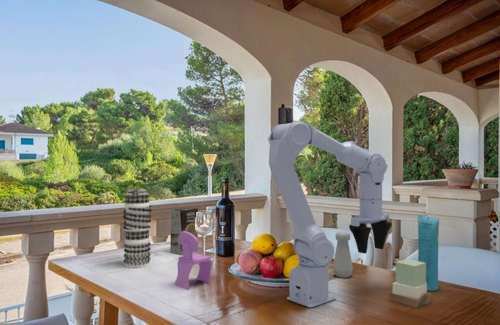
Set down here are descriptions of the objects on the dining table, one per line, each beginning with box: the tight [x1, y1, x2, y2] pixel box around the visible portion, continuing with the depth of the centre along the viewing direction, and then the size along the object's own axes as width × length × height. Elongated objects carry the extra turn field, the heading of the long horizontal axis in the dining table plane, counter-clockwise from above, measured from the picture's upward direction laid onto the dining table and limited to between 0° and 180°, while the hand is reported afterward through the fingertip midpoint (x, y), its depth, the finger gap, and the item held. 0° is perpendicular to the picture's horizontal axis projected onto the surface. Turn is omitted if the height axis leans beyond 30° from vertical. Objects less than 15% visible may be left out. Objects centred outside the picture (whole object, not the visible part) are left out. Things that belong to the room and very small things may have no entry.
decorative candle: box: [122, 188, 153, 268], centre depth 135 cm, size 9×9×25 cm
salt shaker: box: [332, 231, 354, 279], centre depth 121 cm, size 6×6×13 cm
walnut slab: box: [388, 291, 433, 309], centre depth 100 cm, size 7×7×2 cm
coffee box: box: [170, 207, 199, 255], centre depth 155 cm, size 9×6×16 cm
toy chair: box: [173, 231, 213, 291], centre depth 114 cm, size 8×9×15 cm
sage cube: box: [395, 258, 426, 287], centre depth 100 cm, size 5×5×5 cm
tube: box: [417, 214, 440, 291], centre depth 109 cm, size 7×5×19 cm, turn 26°
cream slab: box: [392, 281, 428, 299], centre depth 100 cm, size 6×6×2 cm
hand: (370, 250), depth 108 cm, fingers open, 7 cm apart
